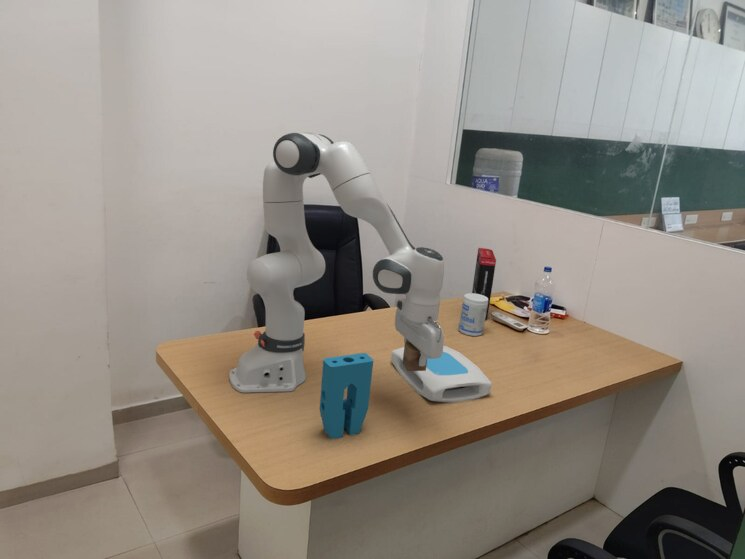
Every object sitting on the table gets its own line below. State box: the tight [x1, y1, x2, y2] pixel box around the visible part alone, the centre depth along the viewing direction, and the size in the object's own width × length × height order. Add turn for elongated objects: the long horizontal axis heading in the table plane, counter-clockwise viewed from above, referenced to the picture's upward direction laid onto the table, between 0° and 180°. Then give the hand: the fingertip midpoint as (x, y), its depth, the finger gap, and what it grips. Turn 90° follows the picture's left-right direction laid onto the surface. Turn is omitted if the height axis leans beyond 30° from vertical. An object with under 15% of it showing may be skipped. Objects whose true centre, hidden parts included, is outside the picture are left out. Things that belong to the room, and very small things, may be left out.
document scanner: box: [390, 345, 493, 404], centre depth 171 cm, size 21×28×6 cm
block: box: [319, 352, 374, 440], centre depth 136 cm, size 12×5×20 cm, turn 119°
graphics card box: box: [471, 247, 497, 321], centre depth 232 cm, size 17×7×27 cm, turn 174°
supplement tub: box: [458, 292, 488, 337], centre depth 212 cm, size 10×10×15 cm
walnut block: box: [402, 342, 427, 371], centre depth 144 cm, size 5×5×6 cm
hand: (414, 359), depth 145 cm, fingers closed on walnut block, 5 cm apart
